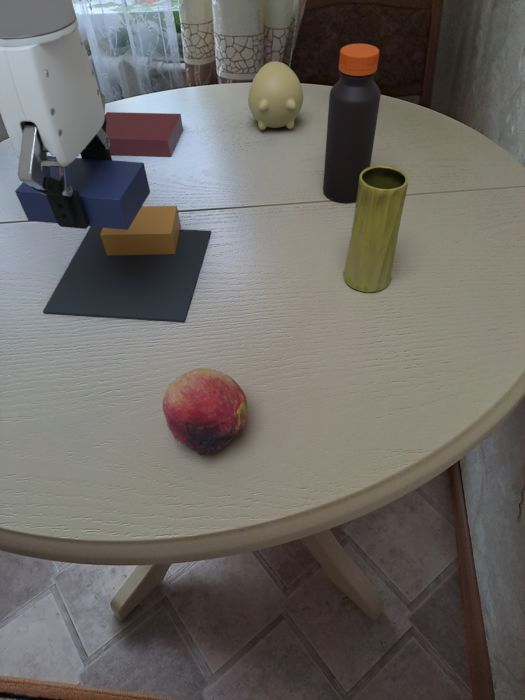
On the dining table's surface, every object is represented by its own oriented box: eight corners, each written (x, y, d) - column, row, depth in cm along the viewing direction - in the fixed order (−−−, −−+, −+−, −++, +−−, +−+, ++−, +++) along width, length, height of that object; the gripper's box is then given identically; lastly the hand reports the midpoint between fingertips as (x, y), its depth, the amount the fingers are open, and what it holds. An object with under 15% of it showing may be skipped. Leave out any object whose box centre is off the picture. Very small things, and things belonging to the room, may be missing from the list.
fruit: (244, 397, 53) (239, 347, 47) (254, 461, 48) (250, 415, 42) (171, 407, 52) (156, 359, 46) (173, 474, 47) (158, 429, 41)
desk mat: (43, 313, 62) (42, 311, 62) (91, 227, 74) (91, 225, 74) (184, 322, 61) (184, 320, 60) (211, 232, 72) (211, 230, 72)
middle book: (28, 221, 52) (14, 191, 49) (58, 184, 56) (47, 155, 54) (128, 230, 50) (119, 199, 48) (150, 191, 55) (144, 161, 52)
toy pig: (299, 141, 96) (298, 85, 96) (306, 112, 84) (305, 49, 84) (248, 141, 96) (247, 85, 96) (248, 113, 84) (247, 49, 84)
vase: (390, 295, 63) (413, 194, 52) (341, 291, 63) (354, 190, 52) (390, 264, 66) (411, 164, 56) (344, 260, 67) (356, 161, 56)
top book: (106, 255, 69) (99, 234, 66) (116, 227, 73) (110, 206, 70) (175, 254, 68) (171, 233, 66) (181, 225, 73) (177, 205, 70)
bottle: (373, 200, 76) (395, 56, 61) (330, 207, 75) (343, 63, 60) (357, 177, 81) (375, 38, 65) (317, 183, 80) (325, 43, 65)
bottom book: (93, 154, 88) (88, 138, 86) (111, 127, 95) (106, 111, 92) (170, 157, 87) (167, 140, 84) (183, 129, 93) (180, 113, 91)
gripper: (33, -21, 46) (90, 160, 59) (-85, 48, 35) (17, 252, 48) (110, -20, 45) (150, 164, 58) (13, 51, 34) (90, 259, 47)
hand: (89, 203), depth 53 cm, fingers closed on middle book, 7 cm apart
